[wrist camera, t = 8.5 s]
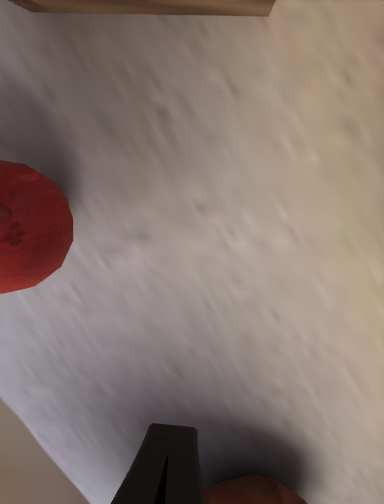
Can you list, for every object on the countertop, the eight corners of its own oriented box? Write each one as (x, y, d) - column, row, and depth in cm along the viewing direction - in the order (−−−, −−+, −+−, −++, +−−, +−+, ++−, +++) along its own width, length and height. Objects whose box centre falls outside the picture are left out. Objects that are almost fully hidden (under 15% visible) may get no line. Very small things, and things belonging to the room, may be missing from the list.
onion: (-12, 145, 18) (-182, 170, 10) (96, 159, 17) (-1, 195, 10) (1, 247, 20) (-131, 326, 13) (96, 260, 20) (18, 350, 12)
